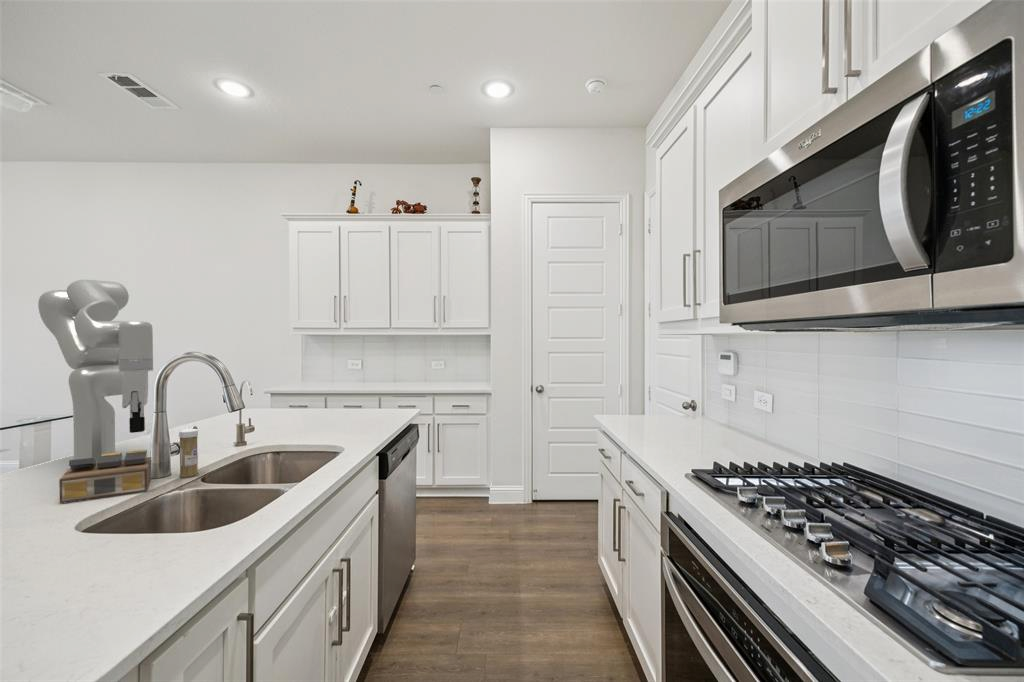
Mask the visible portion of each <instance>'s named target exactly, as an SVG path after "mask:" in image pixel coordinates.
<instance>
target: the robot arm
mask: <svg viewBox="0 0 1024 682" xmlns="http://www.w3.org/2000/svg"><path fill="white" fill-rule="evenodd" d="M128 302H129V291H128V289H127V288H126V287H125V286H124V285H123V284H122V283H120V282H116V281H109V280H108V281H106V280H96V279H78V280H74V281H73V282H71V283H70V284H69V285H68V286H67V288H66V289H57V290H55V289H54V290H49V291H45V292H43V293H42V294H41V295H40V296H39V298H38V302H37V303H38V306H37V307H38V313H39V316H40V319H41V320H42V322H43V324H44V326H45V327H46V328H47V330H49V331H50V332H51V334H52V336H53V337H54V338H55V339H56V341H57V344H58V346H59V348H60V351H61V353H62V356H63V358H64V361H65V363H67V365H68V366H69V368H71V369H72V370H73V371H71V373H70V374H69V376H68V386H69V391H70V395H71V400H72V411H73V412H72V413H73V416H72V417H73V460H76V459H86V458H93V459H95V460H96V463H98V460H99V458H100V456H101V454H109V453H116V412H115V409H114V407H113V405H112V404H111V403H110V402H109V401H108V400H107V399H106V398H105V397H111V396H122V401H121V402H122V403H121V407H122V408H123V409H126V408H128V407H129V420H128V423H129V433H131V434H133V433H134V434H135V433H143V432H145V430H146V425H145V424H146V423H145V416H144V415H145V406H146V405H147V403H148V397H149V396H148V395H149V372H153V371H154V343H153V341H154V340H153V339H154V336H153V330H154V329H153V325H152V324H151V323H150V322H148V321H137V320H136V321H132V320H131V321H130V320H129V321H128V320H127V321H123V320H122V321H121V320H114V319H115V318H116V317H118V314H119V311H120V310H123V309H124V308H125V307H126V306H127V305H128ZM70 468H71V466H69V467H68V468H67V469H66V472H67V471H68V470H69V469H70Z"/></svg>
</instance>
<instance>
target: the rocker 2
mask: <svg viewBox="0 0 1024 682" xmlns="http://www.w3.org/2000/svg"><path fill="white" fill-rule="evenodd" d="M122 458H123V452H122V451H121V452H120V451H119V452H115V453H109V454H101V456H100V458H99V460H98V463H97V468H105V467H114V466H119V465H120V464H121V460H123V459H122Z"/></svg>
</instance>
